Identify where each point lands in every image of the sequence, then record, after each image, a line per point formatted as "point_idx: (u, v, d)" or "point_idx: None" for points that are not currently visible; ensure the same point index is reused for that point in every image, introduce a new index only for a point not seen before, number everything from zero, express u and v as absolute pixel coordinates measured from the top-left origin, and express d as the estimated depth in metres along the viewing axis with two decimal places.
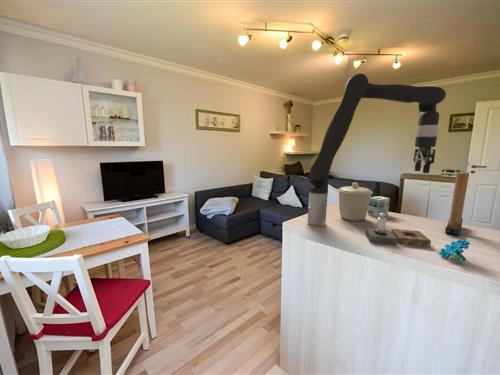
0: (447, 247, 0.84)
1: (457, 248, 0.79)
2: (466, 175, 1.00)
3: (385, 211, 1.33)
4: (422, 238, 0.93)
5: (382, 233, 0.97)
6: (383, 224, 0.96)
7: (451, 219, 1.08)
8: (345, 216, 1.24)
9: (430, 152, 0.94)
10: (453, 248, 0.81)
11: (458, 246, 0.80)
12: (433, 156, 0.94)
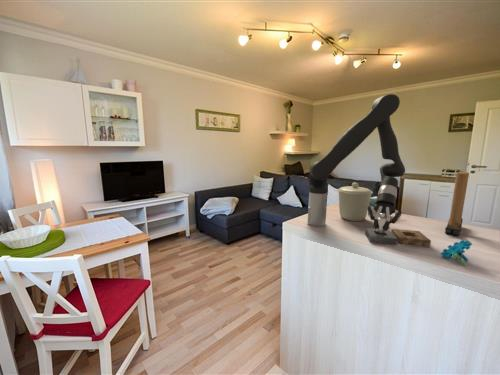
0: (449, 248, 0.84)
1: (459, 248, 0.79)
2: (466, 175, 1.00)
3: None
4: (422, 238, 0.93)
5: (382, 233, 0.97)
6: (383, 224, 0.96)
7: (451, 219, 1.08)
8: (345, 216, 1.24)
9: (400, 214, 0.96)
10: (455, 248, 0.80)
11: (460, 247, 0.80)
12: (397, 218, 0.97)
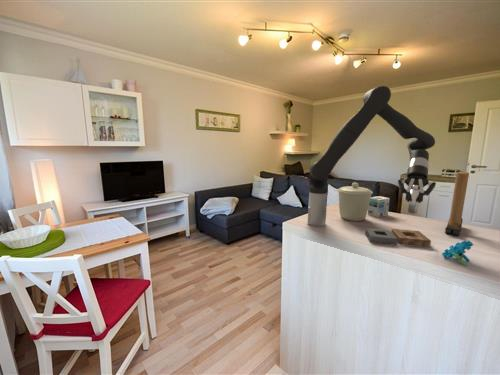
0: (451, 248, 0.84)
1: (459, 249, 0.79)
2: (466, 175, 1.00)
3: (385, 211, 1.33)
4: (422, 238, 0.93)
5: (415, 205, 0.93)
6: (417, 196, 0.93)
7: (451, 219, 1.08)
8: (345, 216, 1.24)
9: (434, 186, 0.92)
10: (456, 249, 0.80)
11: (461, 247, 0.79)
12: (431, 190, 0.93)
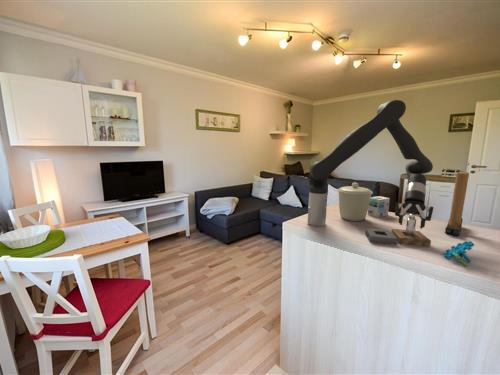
0: (452, 248, 0.83)
1: (460, 249, 0.79)
2: (466, 175, 1.00)
3: (385, 211, 1.33)
4: (422, 238, 0.93)
5: (412, 234, 0.96)
6: (413, 225, 0.95)
7: (451, 219, 1.08)
8: (345, 216, 1.24)
9: (432, 210, 0.95)
10: (457, 249, 0.80)
11: (462, 247, 0.79)
12: (431, 215, 0.95)
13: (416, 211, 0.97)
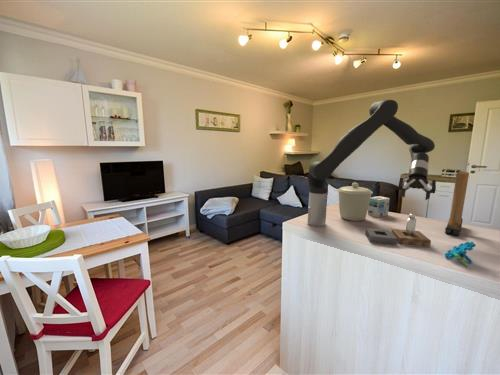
0: (454, 249, 0.83)
1: (461, 249, 0.78)
2: (466, 175, 1.00)
3: (385, 211, 1.33)
4: (422, 238, 0.93)
5: (412, 234, 0.96)
6: (413, 225, 0.95)
7: (451, 219, 1.08)
8: (345, 216, 1.24)
9: None
10: (458, 249, 0.80)
11: (463, 248, 0.79)
12: None
13: (420, 185, 1.04)
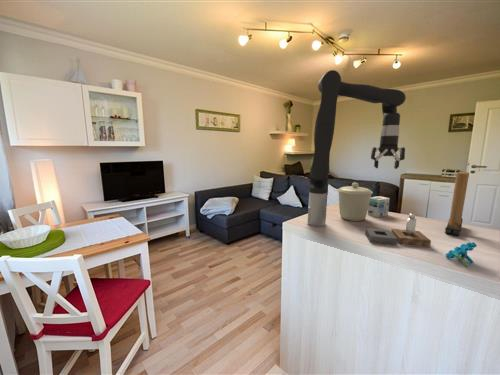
0: (455, 249, 0.83)
1: (462, 250, 0.78)
2: (466, 175, 1.00)
3: (385, 211, 1.33)
4: (422, 238, 0.93)
5: (412, 234, 0.96)
6: (413, 225, 0.95)
7: (451, 219, 1.08)
8: (345, 216, 1.24)
9: None
10: (459, 250, 0.80)
11: (464, 248, 0.79)
12: None
13: (391, 155, 1.09)
